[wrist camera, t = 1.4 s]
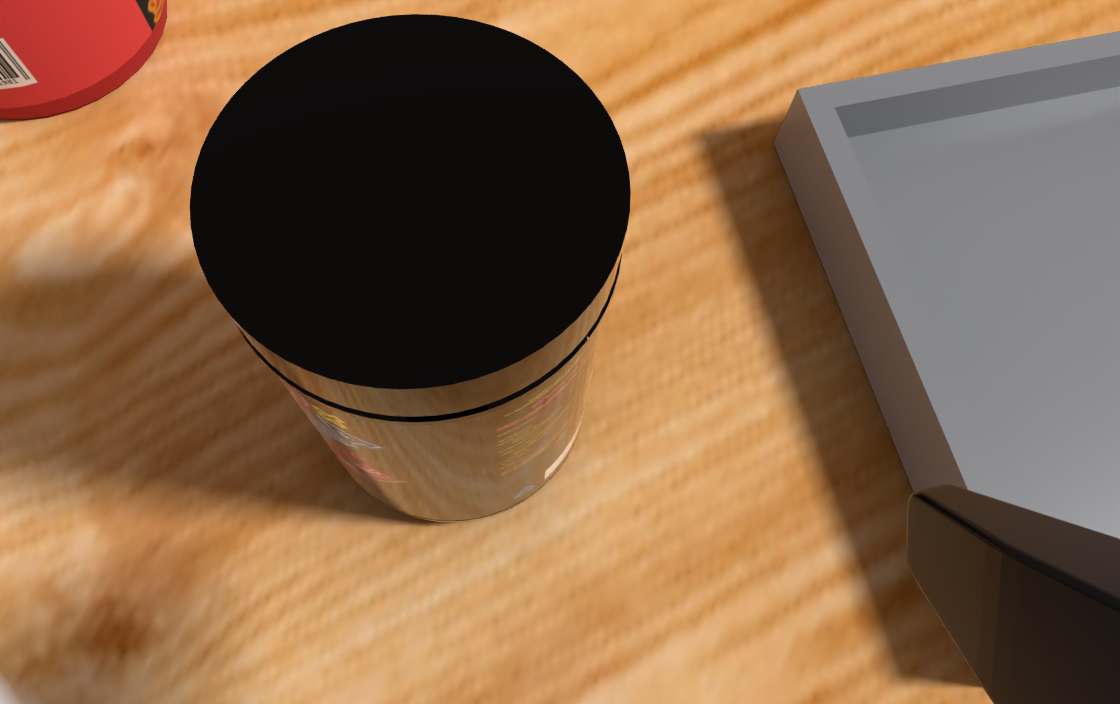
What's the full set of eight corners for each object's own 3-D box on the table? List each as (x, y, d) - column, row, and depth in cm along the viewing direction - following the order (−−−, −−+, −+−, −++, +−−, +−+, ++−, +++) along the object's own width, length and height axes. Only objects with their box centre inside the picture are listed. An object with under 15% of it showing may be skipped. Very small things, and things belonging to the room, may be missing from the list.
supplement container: (389, 257, 24) (303, -34, 15) (617, 330, 24) (682, 79, 14) (285, 479, 22) (101, 304, 12) (536, 567, 21) (551, 455, 12)
